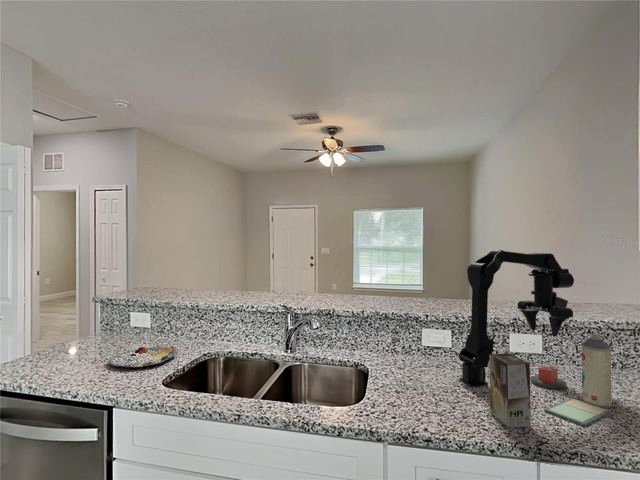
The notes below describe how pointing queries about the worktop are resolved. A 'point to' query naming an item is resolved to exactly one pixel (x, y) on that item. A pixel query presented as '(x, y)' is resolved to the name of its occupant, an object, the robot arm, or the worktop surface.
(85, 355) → the worktop surface
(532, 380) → the red die on its tray
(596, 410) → the game board
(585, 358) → the aerosol can
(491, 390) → the coffee box
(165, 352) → the food plate
